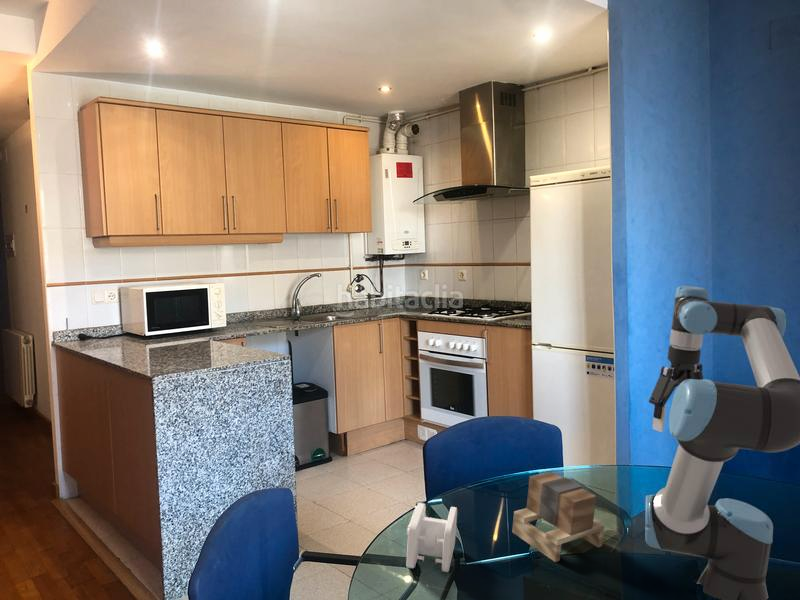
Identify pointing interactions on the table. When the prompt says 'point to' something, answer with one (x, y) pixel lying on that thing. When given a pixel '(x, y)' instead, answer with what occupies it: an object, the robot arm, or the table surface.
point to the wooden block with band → (561, 502)
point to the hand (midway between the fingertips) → (674, 426)
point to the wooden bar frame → (551, 534)
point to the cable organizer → (431, 537)
